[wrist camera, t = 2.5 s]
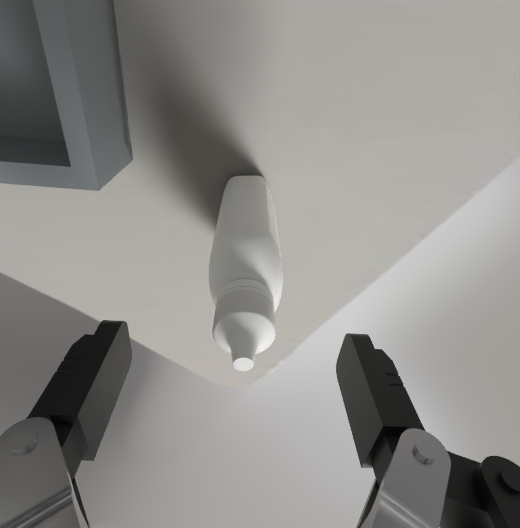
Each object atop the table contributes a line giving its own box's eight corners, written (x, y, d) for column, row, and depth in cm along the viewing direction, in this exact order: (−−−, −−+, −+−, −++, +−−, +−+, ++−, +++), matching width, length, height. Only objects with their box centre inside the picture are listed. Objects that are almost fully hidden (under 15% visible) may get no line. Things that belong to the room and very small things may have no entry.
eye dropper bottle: (299, 194, 20) (343, 333, 10) (257, 260, 23) (260, 421, 13) (236, 161, 19) (218, 282, 9) (200, 235, 22) (155, 391, 12)
